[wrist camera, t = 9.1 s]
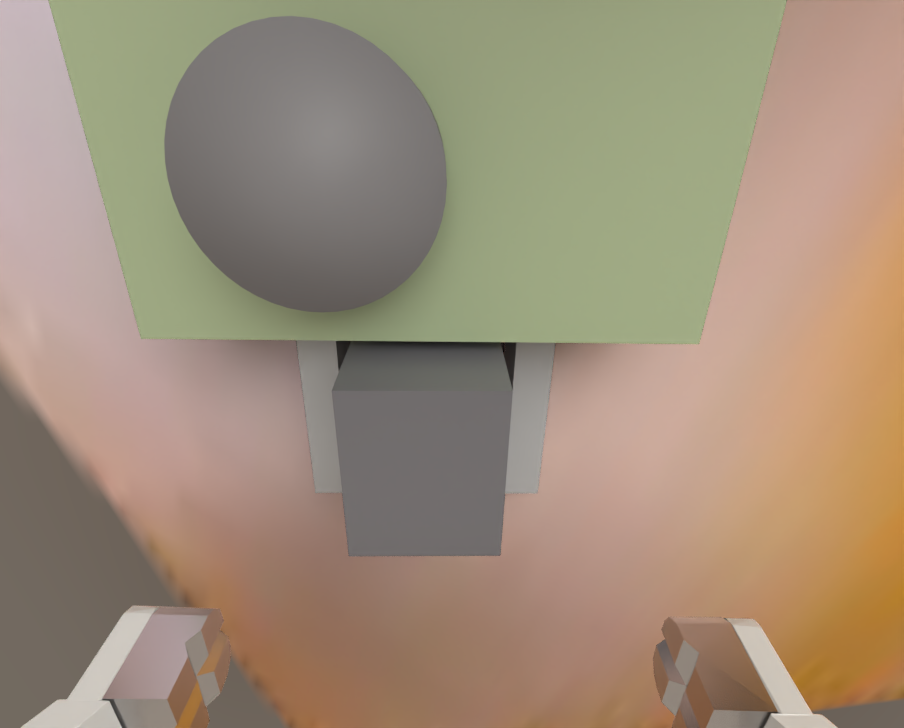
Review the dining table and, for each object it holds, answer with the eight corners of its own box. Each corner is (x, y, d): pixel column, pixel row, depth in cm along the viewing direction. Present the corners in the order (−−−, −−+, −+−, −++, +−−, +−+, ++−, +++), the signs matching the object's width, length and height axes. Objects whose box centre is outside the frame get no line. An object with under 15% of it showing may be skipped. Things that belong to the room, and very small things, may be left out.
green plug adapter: (684, 1, 14) (884, -89, 8) (602, 451, 21) (673, 601, 14) (164, -13, 14) (-74, -119, 7) (251, 450, 20) (166, 603, 14)
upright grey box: (487, 291, 18) (512, 391, 11) (479, 456, 21) (496, 607, 14) (370, 290, 17) (331, 390, 11) (380, 456, 21) (354, 608, 14)
